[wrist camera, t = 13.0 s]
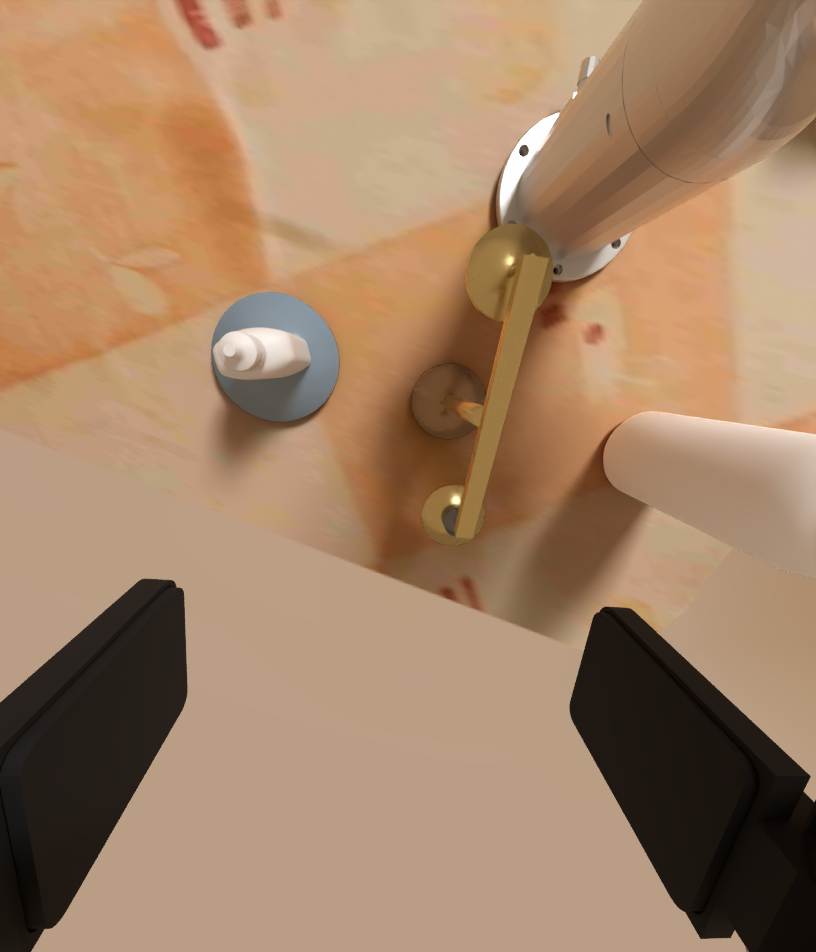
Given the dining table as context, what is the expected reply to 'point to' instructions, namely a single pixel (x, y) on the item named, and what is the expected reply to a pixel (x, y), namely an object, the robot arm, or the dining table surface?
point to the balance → (461, 392)
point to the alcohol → (724, 482)
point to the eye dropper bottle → (260, 354)
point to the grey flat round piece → (290, 392)
